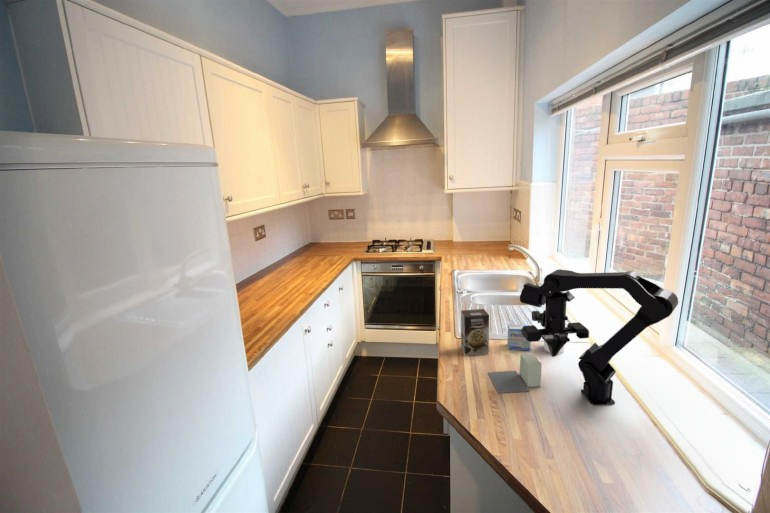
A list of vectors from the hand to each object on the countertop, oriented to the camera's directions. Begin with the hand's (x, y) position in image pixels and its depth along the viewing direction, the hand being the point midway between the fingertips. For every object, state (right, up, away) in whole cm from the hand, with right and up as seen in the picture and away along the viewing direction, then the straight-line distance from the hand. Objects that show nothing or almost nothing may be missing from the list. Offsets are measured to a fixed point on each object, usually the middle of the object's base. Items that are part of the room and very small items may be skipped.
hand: (553, 356), depth 111 cm
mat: (-14, -9, +3) cm, 17 cm away
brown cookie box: (-19, -5, +22) cm, 30 cm away
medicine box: (-2, -3, +23) cm, 23 cm away
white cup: (+10, -3, +20) cm, 22 cm away
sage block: (-6, -9, +2) cm, 11 cm away
